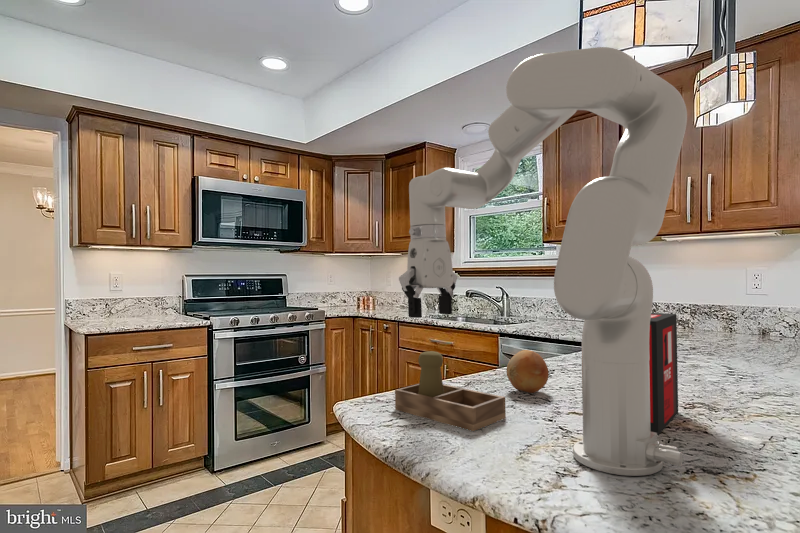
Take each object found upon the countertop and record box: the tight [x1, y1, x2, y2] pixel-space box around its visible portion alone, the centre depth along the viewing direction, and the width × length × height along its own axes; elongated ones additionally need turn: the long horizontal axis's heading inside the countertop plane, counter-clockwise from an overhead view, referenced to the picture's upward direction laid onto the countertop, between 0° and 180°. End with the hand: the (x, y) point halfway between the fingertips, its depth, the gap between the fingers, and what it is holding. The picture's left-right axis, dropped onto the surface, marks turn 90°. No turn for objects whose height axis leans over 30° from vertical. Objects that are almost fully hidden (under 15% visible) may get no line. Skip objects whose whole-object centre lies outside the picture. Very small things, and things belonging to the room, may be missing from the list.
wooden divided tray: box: [394, 383, 507, 432], centre depth 99 cm, size 20×11×4 cm, turn 45°
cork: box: [418, 350, 444, 397], centre depth 102 cm, size 6×6×11 cm
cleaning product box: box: [649, 312, 679, 436], centre depth 94 cm, size 16×9×20 cm, turn 139°
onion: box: [506, 349, 550, 394], centre depth 115 cm, size 10×10×10 cm
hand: (430, 315), depth 102 cm, fingers open, 9 cm apart
